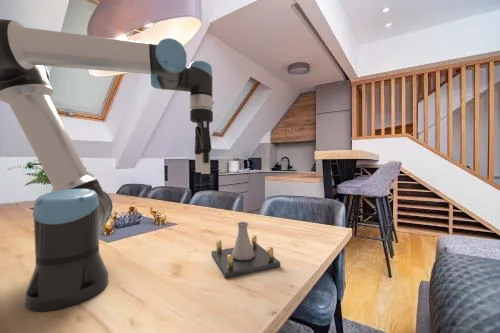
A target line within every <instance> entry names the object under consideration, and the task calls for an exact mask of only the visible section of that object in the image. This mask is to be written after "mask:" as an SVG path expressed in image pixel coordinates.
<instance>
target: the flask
mask: <svg viewBox="0 0 500 333" xmlns="http://www.w3.org/2000/svg"><path fill="white" fill-rule="evenodd" d="M248 225H249V222H248V221H239V222H237V226H238V232H237V237H236V240H235V243H234V247H233V248H234V249H233V252H232V254H233V259H237V260H251V259H252V258H253V257H255V254H254V251H253V248H252V246H251V245H252V242H251V240H250V238H249V233H248Z"/></svg>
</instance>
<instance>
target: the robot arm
mask: <svg viewBox="0 0 500 333" xmlns="http://www.w3.org/2000/svg"><path fill="white" fill-rule="evenodd" d="M187 57H188V56H187V51H186V49H185V47H184V46H183V44H182V43H181V42H180V41H178V40H176V39H174V38H164V39H161V40H160V41H159V42H158V43H151V42H143V41H142V42H141V41H134V40H128V39H118V38H110V37H102V36H96V35H95V36H94V35H86V34H81V33H80V34H79V33H73V32H64V31H56V30H48V29H39V28H33V27H26V26H24V25H23V24H22V23H21V22H19V21H18V20H13V19H12V20H11V19H4V18H0V102H4V103H5V104H8V105H9V108H11V111H12V113H13V114H14V116H15V118H16V119H17V122H18V124H19V126H20V127H21V129H22V131H23V133H24V136H25V137H26V139H27V141H28V143H29V145H30V147H31V148H32V151H33V152H34V154H35V156H36V158H37V161H38V162H39V164H40V166H41V167H42V169H43V171H44V173H45V175H46V177H47V178H48V181H49V182H50V184H51V186H52V190H50V192H47V193H44V194H41V195H40V196H39V197H37V198H36V199H35V200H34V207H33V212H32V218H33V226H34V230H33V231H34V248H35V249H34V251H35V267H34V270H33V272H32V275H31V278H30V281H29V284H28V286H27V289H26V292H25V297H24V298H25V299H24V300H25V307H26V309H28V310H30V311H34V312H50V311H56V310H61V309H64V308H68V307H72V306H74V305H77V304H80V303H83V302H85V301H88V300H90V299H91V298H93V297H95V296H96V295H98V294H100V293H101V292H102V291H103V290H105V289H106V287H107V286H108V284H109V272H108V270H107V267H106V265H105V263H104V260H103V258H102V256H101V253H100V238H99V237H100V236H99V233H100V232H99V228H101V227H102V226H103V225H104V224H105V223H106V222H107V221H108V220H109V219H110V217H111V215H112V212H113V206H114V205H113V200H112V198H111V196H110V195H109V194H108V193H107V192H106V191H104V189H103V187H102V185H101V184H100V181H99V180H98V178H96V177H94V176H91V175H89V173H88V172H87V169H86V167H85V166H84V163H83V161H82V159H81V157H80V155H79V153H78V152H77V151H78V150H76V147H75V146H74V143H73V141H72V139H71V138H70V136H69V133H68V132H67V129H66V127H65V126H64V123H63V121H62V119H61V117H60V116H59V113H58V112H57V109H56V107H55V105H54V102H53V101H52V99H51V96H52V95H53V94H54V89H53V87H52V85H51V83H50V82H51V76H50V73H49V72H50V71H49V69H48V68H47V67H52V68H53V67H56V68H64V69H65V68H68V69H69V68H70V69H80V70H93V71H103V72H105V71H108V72H119V73H131V74H142V75H143V74H144V75H145V74H146V75H150V85H151V87H152V88H153V89H158V90H165V91H166V90H167V91H176V92H177V91H179V92H189V109H190V112H189V121H190V122H192V123H195V124H197V125H196V126H195V128H194V132H195V135H194V136H195V137H194V138H195V139H194V150H193V152H194V156H195V157H194V158H195V161H194V162H195V163H194V164H195V173H200V174H201V175H205V174H206V175H207V174H208V175H210V174H211V150H212V142H211V134H210V123H212V122H213V121H214V111H213V106H214V104H215V101H213V80H214V78H213V70H212V69H213V68H212V66H211V64H210V63H209V62H206V61H203V60H194V61H192V62H190V63H189V66H188V67H187V63H188V62H187Z"/></svg>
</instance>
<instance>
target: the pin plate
mask: <svg viewBox="0 0 500 333" xmlns="http://www.w3.org/2000/svg"><path fill="white" fill-rule="evenodd" d="M257 241H258V239H257V235H251V246H252V248H253V251H254V254H255V257H253V258H252V259H251V260H237V259H233V254H232V252H233V249H234V247H230V248H223V249H222V246H223V243H222V242H223V241H222V240H220V239H219V240H216V250H211V257H212V259H213V261H214V263H215V264H216V266H217V267H218V269H219V271H220V272H221V274H222V276H223V278H224V279H225V280H227V279H231V278H235V277H241V276H247V275H250V274H255V273H261V272H265V271H269V270H274V269H280V268H281V261H280V260H278V259H277V258H276V257H275V256H274V247H267V249H265V248H263V247H262V246H261V245H260V244H258V243H257Z"/></svg>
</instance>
